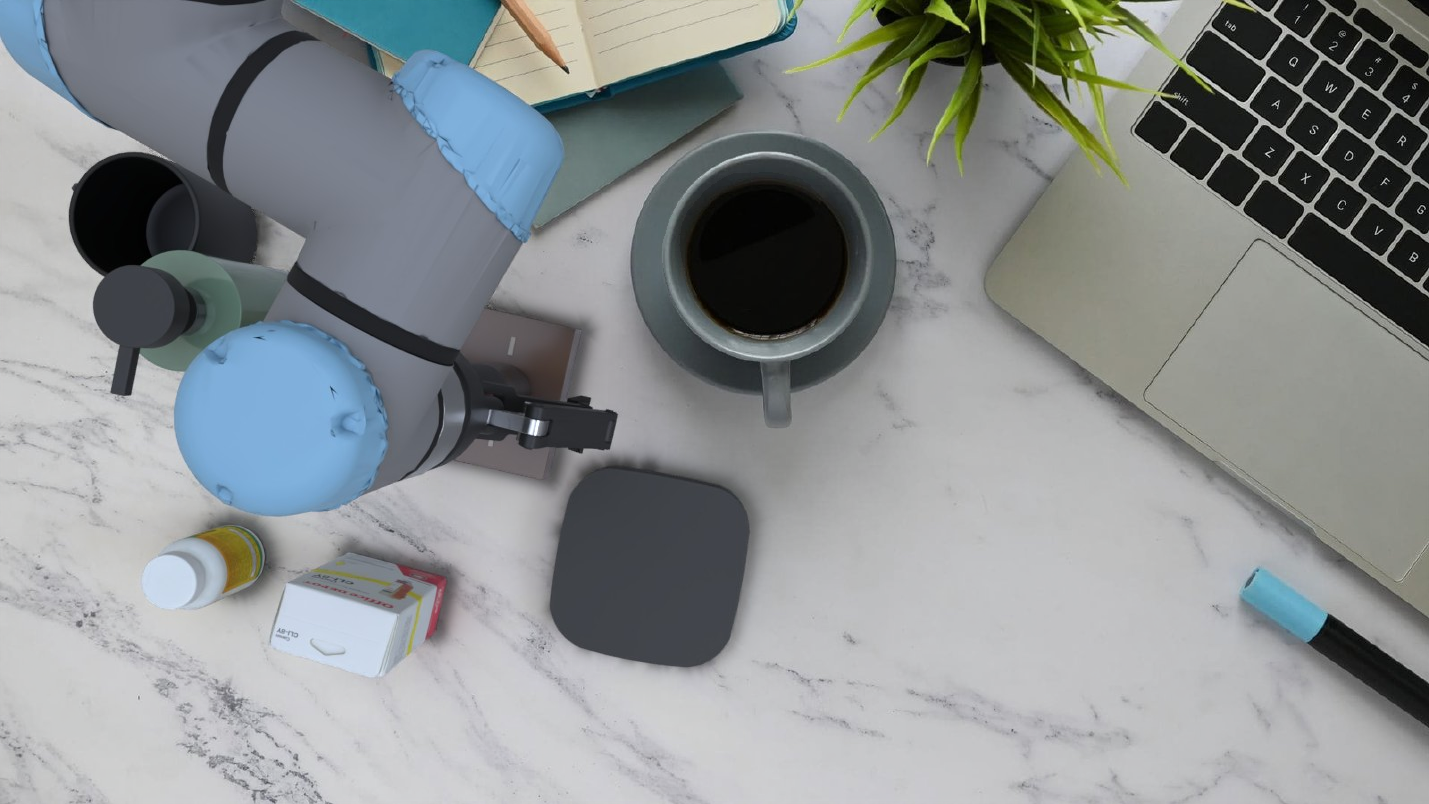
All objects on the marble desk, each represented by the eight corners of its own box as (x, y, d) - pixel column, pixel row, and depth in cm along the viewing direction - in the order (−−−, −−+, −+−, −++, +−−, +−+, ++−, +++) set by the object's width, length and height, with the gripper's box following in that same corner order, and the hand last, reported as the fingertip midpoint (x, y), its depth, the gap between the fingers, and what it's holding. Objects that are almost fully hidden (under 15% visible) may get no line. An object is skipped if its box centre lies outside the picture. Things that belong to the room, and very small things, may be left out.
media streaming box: (757, 489, 79) (759, 494, 76) (724, 666, 80) (724, 678, 77) (578, 456, 79) (572, 460, 76) (546, 634, 80) (539, 644, 77)
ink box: (450, 576, 79) (402, 614, 68) (434, 635, 80) (384, 682, 68) (348, 548, 79) (281, 580, 68) (332, 606, 80) (264, 649, 68)
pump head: (125, 260, 54) (101, 256, 52) (203, 278, 54) (182, 274, 52) (100, 385, 55) (75, 385, 52) (178, 402, 55) (156, 404, 52)
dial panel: (471, 304, 79) (460, 302, 75) (581, 329, 79) (575, 328, 75) (440, 451, 79) (428, 455, 76) (549, 475, 79) (542, 480, 76)
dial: (468, 413, 76) (438, 419, 68) (480, 357, 76) (452, 357, 68) (523, 426, 76) (500, 433, 68) (536, 370, 76) (514, 371, 68)
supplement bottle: (233, 602, 80) (166, 636, 70) (187, 554, 80) (114, 581, 70) (281, 557, 80) (220, 584, 70) (235, 509, 79) (168, 530, 70)
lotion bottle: (299, 272, 79) (123, 235, 56) (384, 291, 79) (243, 262, 56) (281, 358, 79) (99, 356, 56) (366, 377, 79) (219, 384, 56)
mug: (140, 142, 78) (64, 114, 69) (278, 204, 78) (220, 184, 69) (95, 251, 79) (13, 237, 70) (232, 313, 79) (168, 306, 70)
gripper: (645, 391, 51) (668, 382, 73) (180, 281, 51) (339, 304, 73) (612, 530, 52) (645, 481, 73) (150, 420, 52) (318, 403, 73)
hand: (493, 393), depth 73 cm, fingers open, 13 cm apart
